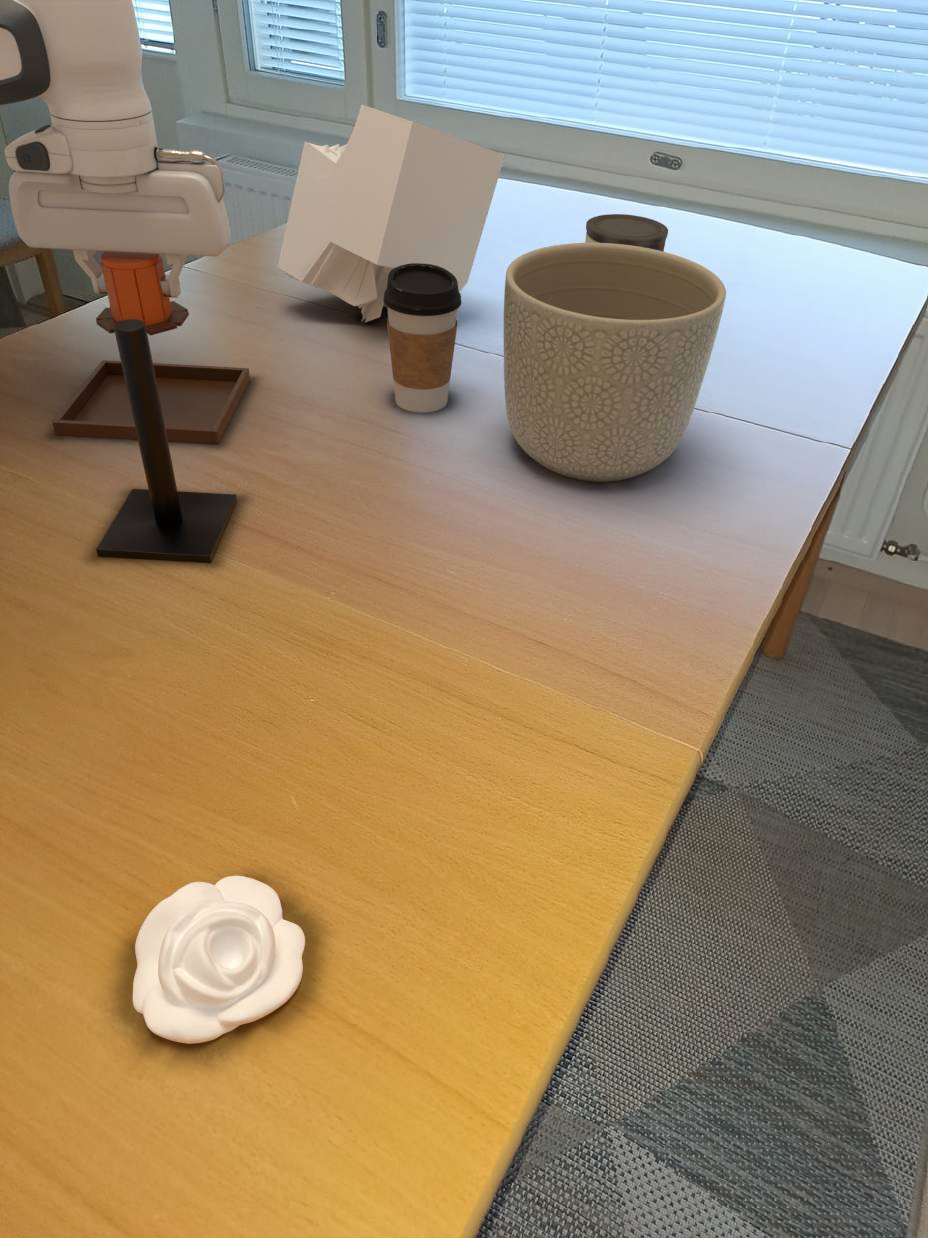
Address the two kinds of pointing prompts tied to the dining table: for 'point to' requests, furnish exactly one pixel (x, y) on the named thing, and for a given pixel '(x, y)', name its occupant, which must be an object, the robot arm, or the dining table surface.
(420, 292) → the coffee cup
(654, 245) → the coffee can
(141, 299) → the hat
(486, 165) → the tissue box
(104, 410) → the tray
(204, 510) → the stand
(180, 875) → the dining table surface
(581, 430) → the planter
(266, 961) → the rose
